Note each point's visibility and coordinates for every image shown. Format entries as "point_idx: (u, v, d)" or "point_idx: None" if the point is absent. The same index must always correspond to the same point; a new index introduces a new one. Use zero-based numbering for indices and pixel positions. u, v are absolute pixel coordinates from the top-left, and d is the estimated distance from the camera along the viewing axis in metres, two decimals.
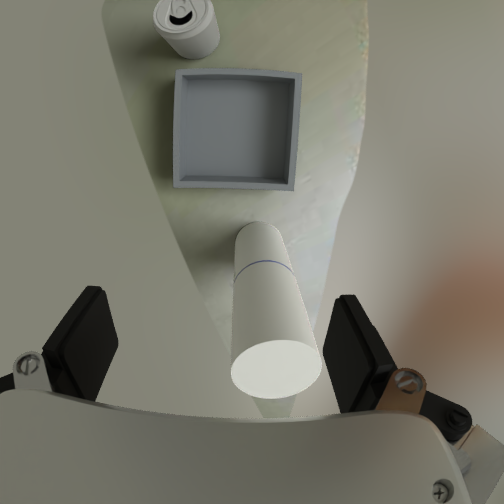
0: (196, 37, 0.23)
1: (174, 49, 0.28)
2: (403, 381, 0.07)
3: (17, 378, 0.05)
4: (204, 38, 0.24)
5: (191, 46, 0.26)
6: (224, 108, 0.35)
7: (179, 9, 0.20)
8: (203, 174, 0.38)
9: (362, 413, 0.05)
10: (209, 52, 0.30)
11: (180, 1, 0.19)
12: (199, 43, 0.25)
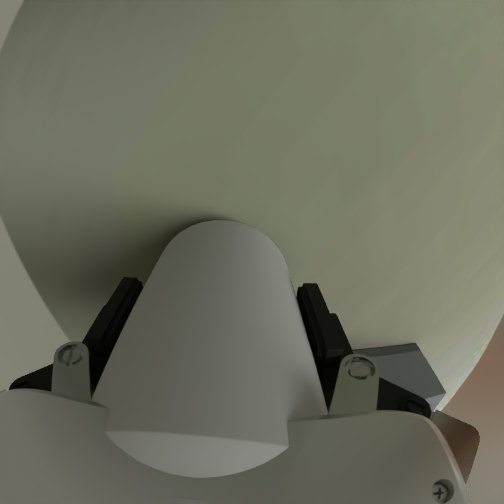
0: None
1: None
2: (354, 367, 0.07)
3: (60, 368, 0.06)
4: None
5: None
6: None
7: None
8: None
9: (362, 413, 0.05)
10: None
11: None
12: None
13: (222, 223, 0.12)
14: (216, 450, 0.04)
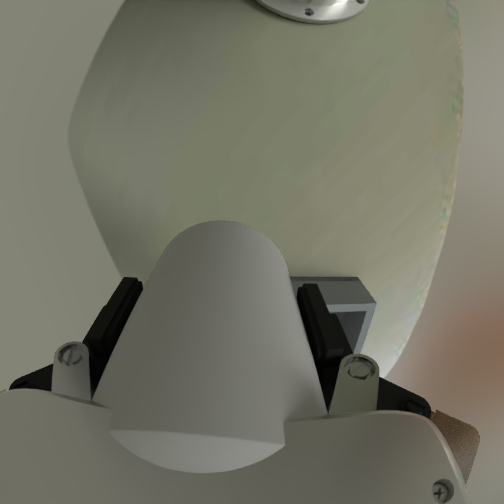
0: None
1: None
2: (354, 367, 0.07)
3: (61, 368, 0.06)
4: None
5: None
6: None
7: None
8: None
9: (362, 413, 0.05)
10: None
11: None
12: None
13: (222, 223, 0.12)
14: (217, 449, 0.04)
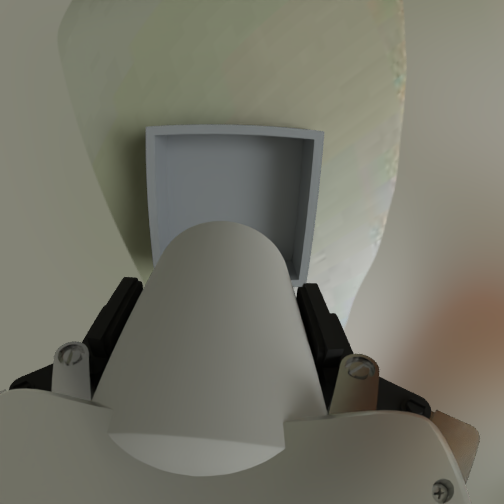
0: None
1: None
2: (354, 367, 0.07)
3: (61, 369, 0.06)
4: None
5: None
6: (216, 173, 0.28)
7: None
8: None
9: (362, 413, 0.05)
10: None
11: None
12: None
13: (222, 224, 0.12)
14: (216, 453, 0.03)
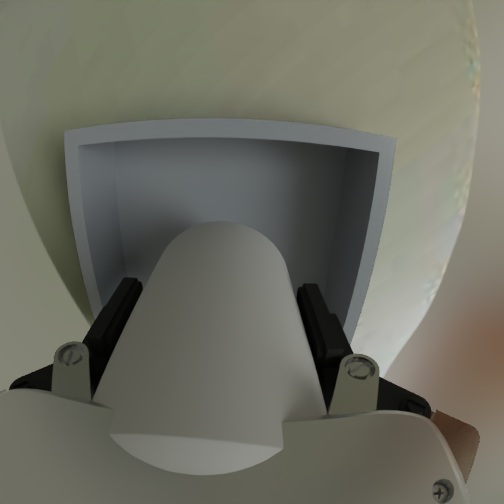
0: None
1: None
2: (354, 367, 0.07)
3: (61, 368, 0.06)
4: None
5: None
6: (196, 205, 0.16)
7: None
8: None
9: (362, 413, 0.05)
10: None
11: None
12: None
13: (222, 224, 0.12)
14: (217, 453, 0.04)
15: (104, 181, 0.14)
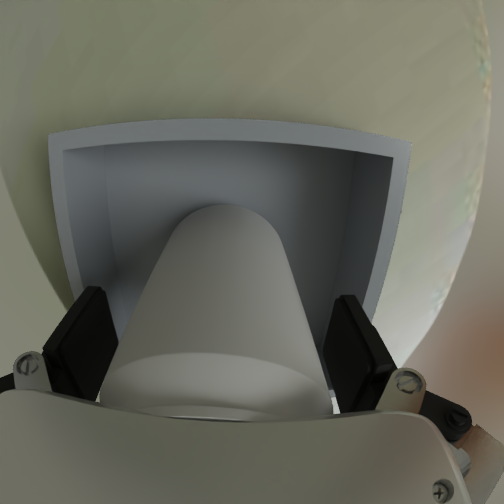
0: None
1: None
2: (403, 381, 0.07)
3: (17, 378, 0.05)
4: None
5: None
6: None
7: None
8: None
9: (362, 413, 0.05)
10: None
11: None
12: None
13: (225, 206, 0.14)
14: (228, 365, 0.05)
15: (93, 188, 0.13)
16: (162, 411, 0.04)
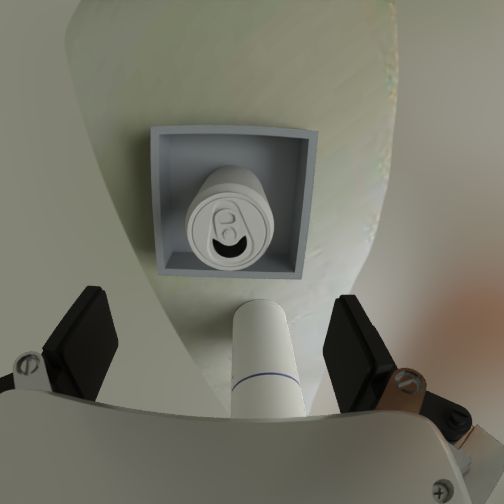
0: None
1: None
2: (403, 381, 0.07)
3: (17, 378, 0.05)
4: None
5: (237, 248, 0.25)
6: None
7: (226, 230, 0.19)
8: None
9: (362, 413, 0.05)
10: None
11: (227, 215, 0.19)
12: None
13: (233, 165, 0.28)
14: (236, 185, 0.19)
15: (166, 156, 0.27)
16: (217, 193, 0.18)
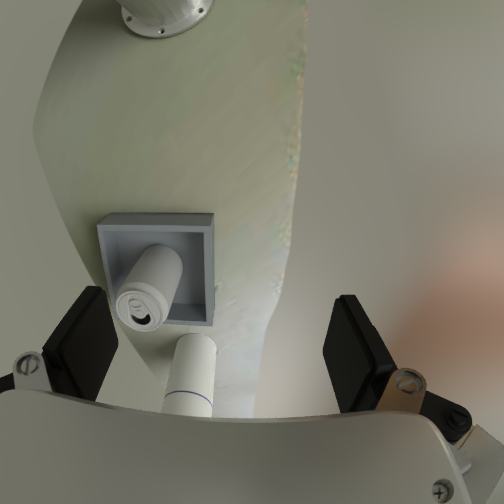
0: None
1: None
2: (403, 381, 0.07)
3: (17, 378, 0.05)
4: None
5: None
6: None
7: (137, 310, 0.30)
8: None
9: (362, 413, 0.05)
10: None
11: (136, 302, 0.29)
12: None
13: (158, 246, 0.38)
14: (140, 284, 0.29)
15: (112, 239, 0.37)
16: (128, 290, 0.29)
